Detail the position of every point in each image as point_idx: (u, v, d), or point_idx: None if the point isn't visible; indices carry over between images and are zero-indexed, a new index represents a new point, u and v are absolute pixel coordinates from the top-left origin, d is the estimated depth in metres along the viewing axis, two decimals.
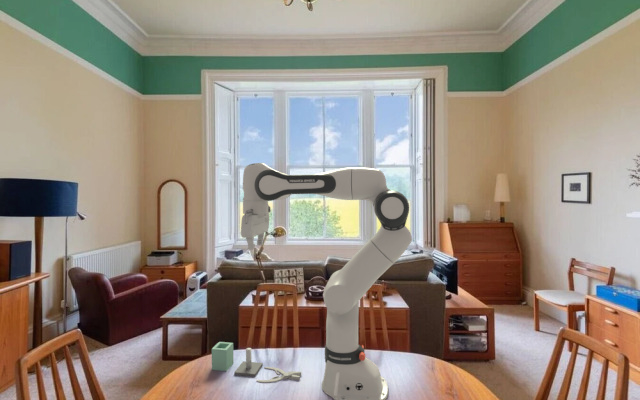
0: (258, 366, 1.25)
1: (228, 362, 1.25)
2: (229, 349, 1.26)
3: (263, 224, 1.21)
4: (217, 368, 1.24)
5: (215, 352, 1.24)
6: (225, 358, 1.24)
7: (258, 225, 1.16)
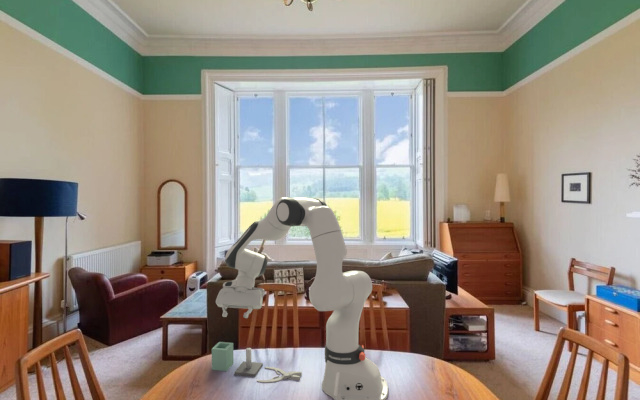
0: (258, 366, 1.25)
1: (228, 362, 1.25)
2: (229, 349, 1.26)
3: None
4: (217, 368, 1.24)
5: (215, 352, 1.24)
6: (225, 358, 1.24)
7: None
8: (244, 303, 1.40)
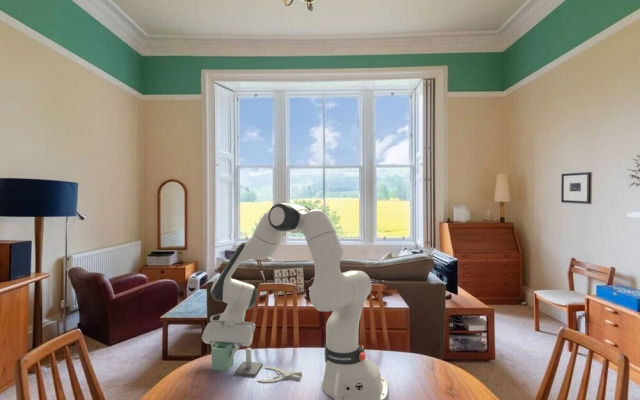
0: (258, 366, 1.25)
1: (228, 362, 1.25)
2: (229, 349, 1.26)
3: None
4: (217, 368, 1.24)
5: (215, 352, 1.24)
6: (225, 358, 1.24)
7: None
8: (232, 340, 1.28)
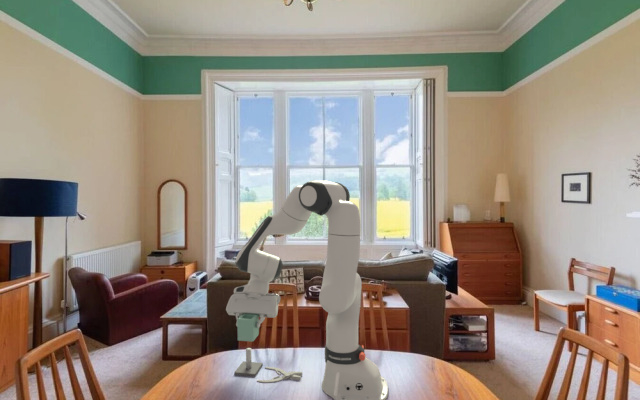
0: (258, 366, 1.25)
1: (254, 333, 1.22)
2: (255, 320, 1.23)
3: None
4: (243, 339, 1.21)
5: (241, 322, 1.21)
6: (251, 328, 1.21)
7: None
8: (258, 311, 1.25)
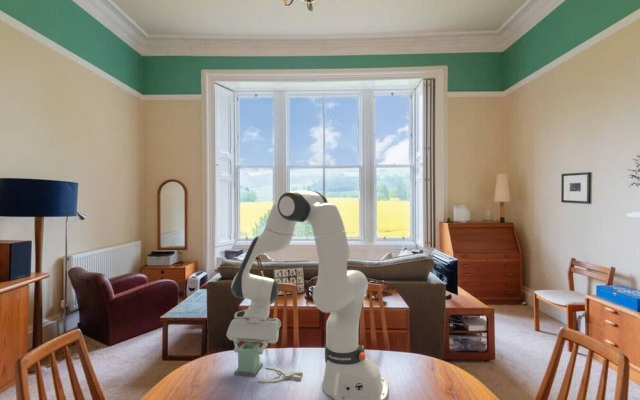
0: (258, 366, 1.25)
1: (255, 363, 1.22)
2: (256, 350, 1.23)
3: None
4: (244, 369, 1.21)
5: (242, 353, 1.21)
6: (252, 359, 1.21)
7: None
8: (258, 337, 1.25)
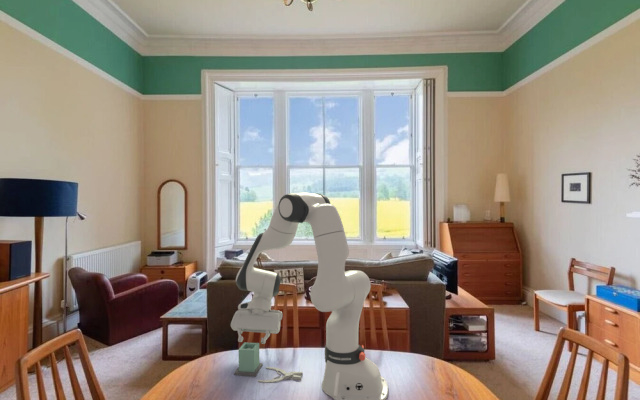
0: (258, 366, 1.25)
1: (255, 363, 1.23)
2: (256, 349, 1.24)
3: None
4: (244, 369, 1.22)
5: (242, 353, 1.22)
6: (253, 359, 1.21)
7: None
8: (261, 327, 1.32)
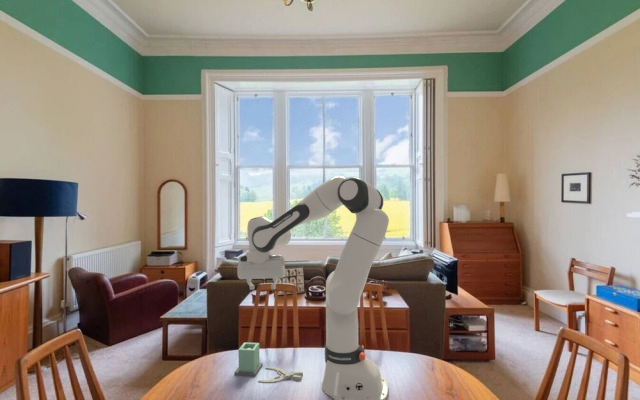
0: (258, 366, 1.25)
1: (255, 363, 1.23)
2: (256, 349, 1.24)
3: None
4: (244, 369, 1.22)
5: (242, 353, 1.22)
6: (253, 359, 1.21)
7: None
8: (267, 276, 1.34)
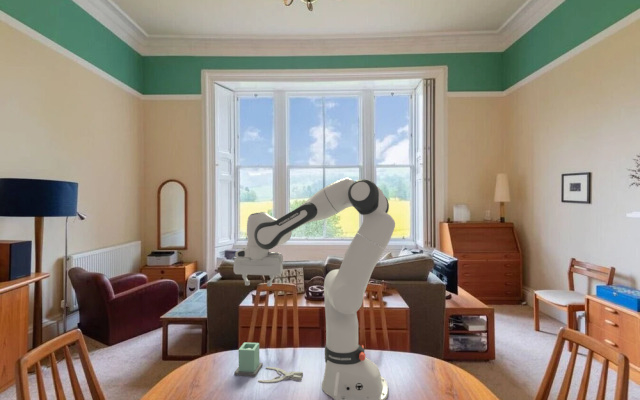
0: (258, 366, 1.25)
1: (255, 363, 1.23)
2: (256, 349, 1.24)
3: None
4: (244, 369, 1.22)
5: (242, 353, 1.22)
6: (253, 359, 1.21)
7: None
8: (264, 273, 1.32)
